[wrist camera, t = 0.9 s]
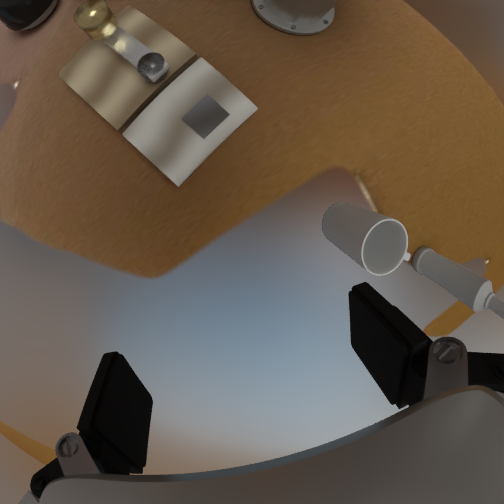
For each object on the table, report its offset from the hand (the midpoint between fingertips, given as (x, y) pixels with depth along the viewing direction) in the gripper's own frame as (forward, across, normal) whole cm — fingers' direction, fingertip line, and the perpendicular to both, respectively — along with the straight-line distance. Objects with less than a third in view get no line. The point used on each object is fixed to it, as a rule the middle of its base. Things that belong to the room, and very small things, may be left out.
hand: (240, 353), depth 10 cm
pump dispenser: (+28, +21, -45) cm, 57 cm away
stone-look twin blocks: (+28, +4, -18) cm, 34 cm away
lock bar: (+24, +5, -23) cm, 33 cm away
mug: (+28, -18, +7) cm, 34 cm away
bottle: (+28, -33, +18) cm, 47 cm away
